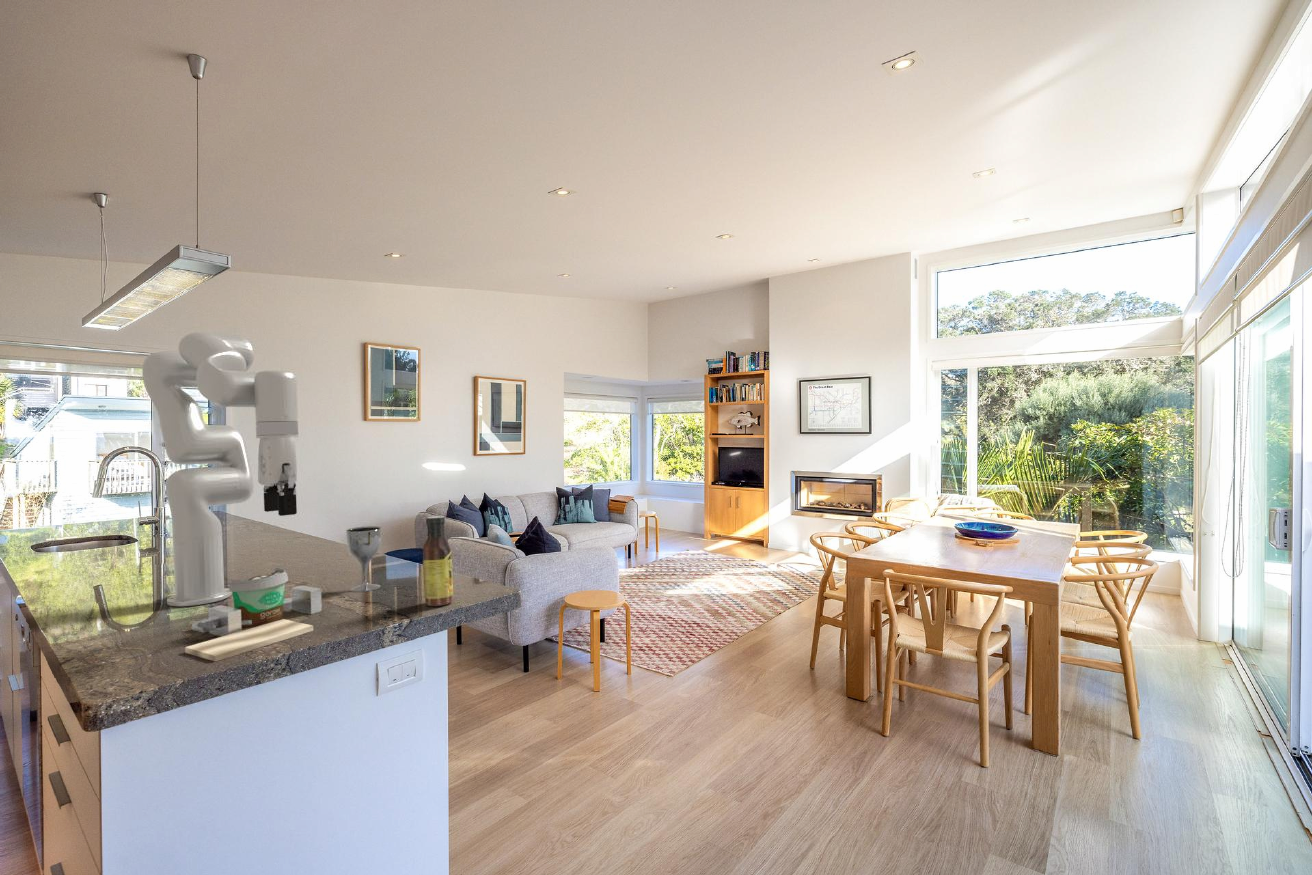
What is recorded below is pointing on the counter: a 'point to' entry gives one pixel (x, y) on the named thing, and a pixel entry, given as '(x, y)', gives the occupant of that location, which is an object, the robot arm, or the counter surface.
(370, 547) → the wine glass
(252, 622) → the food container
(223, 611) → the vise
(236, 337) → the robot arm
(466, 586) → the counter surface
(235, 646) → the light wood flat board
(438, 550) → the sauce bottle
